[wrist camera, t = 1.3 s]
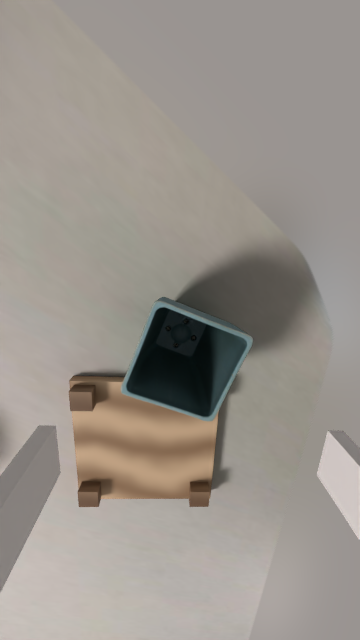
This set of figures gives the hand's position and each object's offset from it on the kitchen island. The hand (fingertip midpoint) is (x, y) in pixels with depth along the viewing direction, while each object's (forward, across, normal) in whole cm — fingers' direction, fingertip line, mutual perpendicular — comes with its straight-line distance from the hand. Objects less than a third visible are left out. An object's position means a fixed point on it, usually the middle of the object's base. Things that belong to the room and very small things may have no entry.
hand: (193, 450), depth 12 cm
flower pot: (+18, 0, 0) cm, 18 cm away
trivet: (+18, -4, -15) cm, 23 cm away
